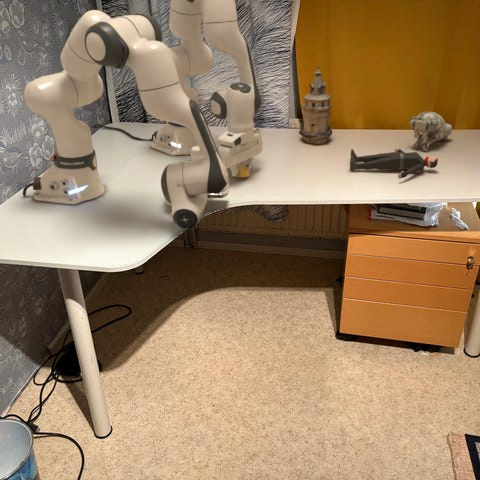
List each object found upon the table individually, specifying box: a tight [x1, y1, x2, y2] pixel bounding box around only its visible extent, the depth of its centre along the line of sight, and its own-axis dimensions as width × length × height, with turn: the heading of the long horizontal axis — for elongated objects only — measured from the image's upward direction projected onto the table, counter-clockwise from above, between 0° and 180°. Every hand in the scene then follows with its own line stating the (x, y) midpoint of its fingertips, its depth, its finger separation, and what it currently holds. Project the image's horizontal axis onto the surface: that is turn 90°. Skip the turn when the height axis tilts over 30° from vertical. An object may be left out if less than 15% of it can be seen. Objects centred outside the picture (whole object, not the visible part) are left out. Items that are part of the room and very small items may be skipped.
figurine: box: [408, 111, 453, 152], centre depth 210 cm, size 10×19×20 cm
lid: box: [236, 165, 251, 178], centre depth 186 cm, size 5×5×2 cm
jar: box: [190, 146, 203, 161], centre depth 171 cm, size 5×5×16 cm
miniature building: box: [298, 65, 333, 145], centre depth 213 cm, size 13×14×30 cm
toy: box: [349, 148, 439, 180], centre depth 190 cm, size 26×6×30 cm
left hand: (199, 177), depth 173 cm, fingers closed on jar, 5 cm apart
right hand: (241, 172), depth 186 cm, fingers open, 6 cm apart
